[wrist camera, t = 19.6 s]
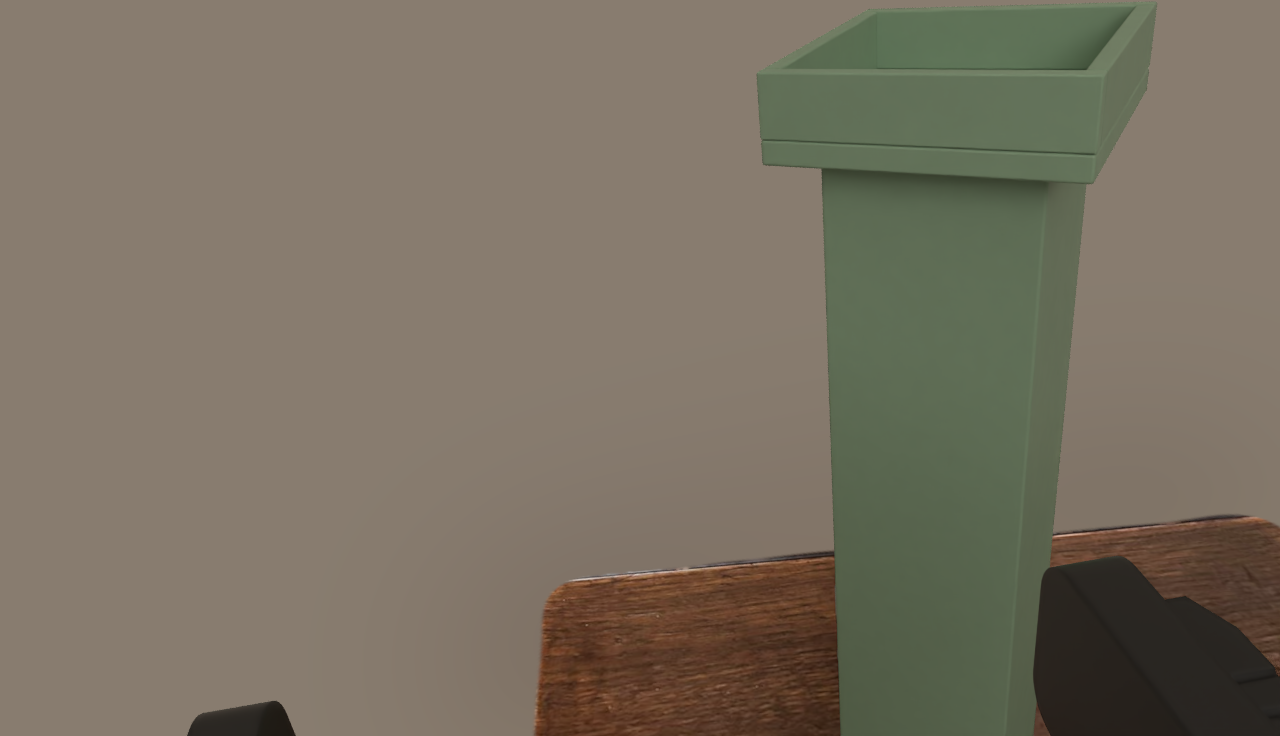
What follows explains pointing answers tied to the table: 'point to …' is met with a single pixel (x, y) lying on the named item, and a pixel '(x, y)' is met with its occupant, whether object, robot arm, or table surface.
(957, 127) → the holder
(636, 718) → the table surface
